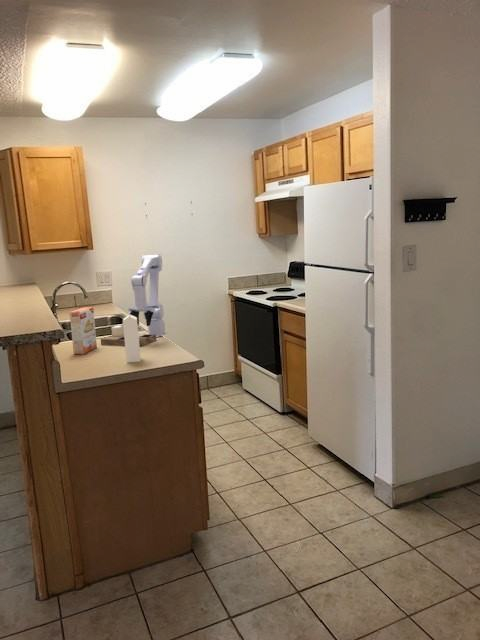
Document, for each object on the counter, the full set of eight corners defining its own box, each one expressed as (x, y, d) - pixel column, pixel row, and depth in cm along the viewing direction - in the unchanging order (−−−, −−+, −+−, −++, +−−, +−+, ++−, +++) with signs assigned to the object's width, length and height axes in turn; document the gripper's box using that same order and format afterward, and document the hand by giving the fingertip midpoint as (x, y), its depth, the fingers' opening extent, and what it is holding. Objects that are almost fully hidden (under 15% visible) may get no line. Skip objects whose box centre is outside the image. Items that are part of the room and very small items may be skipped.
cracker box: (84, 354, 255) (80, 311, 251) (73, 354, 256) (68, 311, 253) (98, 347, 269) (93, 306, 265) (87, 347, 270) (82, 307, 266)
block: (117, 333, 286) (116, 325, 285) (124, 334, 284) (123, 325, 283) (112, 335, 282) (111, 327, 281) (119, 335, 280) (118, 327, 279)
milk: (140, 358, 241) (136, 310, 238) (140, 361, 236) (136, 312, 232) (127, 359, 241) (122, 311, 237) (126, 362, 235) (122, 313, 231)
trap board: (118, 338, 288) (118, 333, 288) (156, 340, 278) (155, 334, 278) (101, 344, 275) (100, 339, 274) (140, 346, 265) (139, 340, 264)
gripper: (123, 300, 267) (126, 326, 270) (148, 300, 261) (150, 327, 264) (132, 298, 274) (134, 323, 276) (156, 298, 268) (158, 324, 270)
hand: (142, 325), depth 270 cm, fingers open, 6 cm apart
